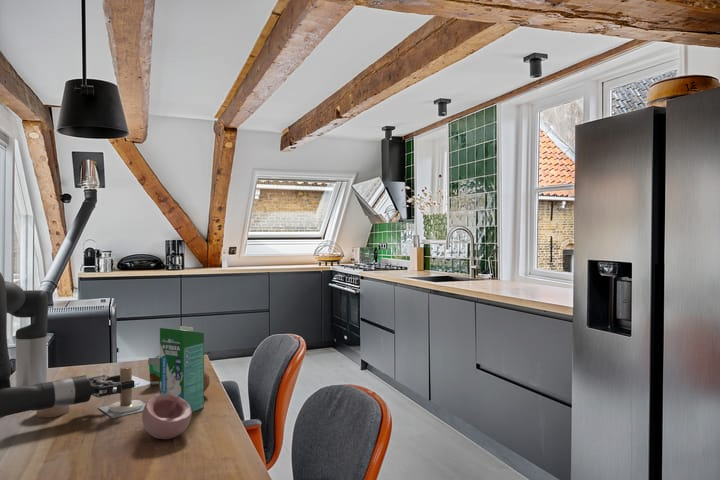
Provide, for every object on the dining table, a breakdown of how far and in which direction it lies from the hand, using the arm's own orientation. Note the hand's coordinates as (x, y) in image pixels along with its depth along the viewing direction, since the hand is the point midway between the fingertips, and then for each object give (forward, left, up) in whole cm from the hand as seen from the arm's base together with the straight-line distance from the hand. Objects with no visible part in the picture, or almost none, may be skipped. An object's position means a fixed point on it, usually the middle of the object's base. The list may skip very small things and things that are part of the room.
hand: (128, 380), depth 163 cm
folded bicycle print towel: (-29, +6, -9) cm, 31 cm away
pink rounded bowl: (+31, -2, -8) cm, 32 cm away
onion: (+2, +20, -8) cm, 22 cm away
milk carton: (+12, +11, -8) cm, 19 cm away
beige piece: (0, -1, -8) cm, 8 cm away
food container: (-20, +20, -8) cm, 30 cm away
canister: (-11, -18, -8) cm, 22 cm away
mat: (0, -1, -8) cm, 8 cm away
